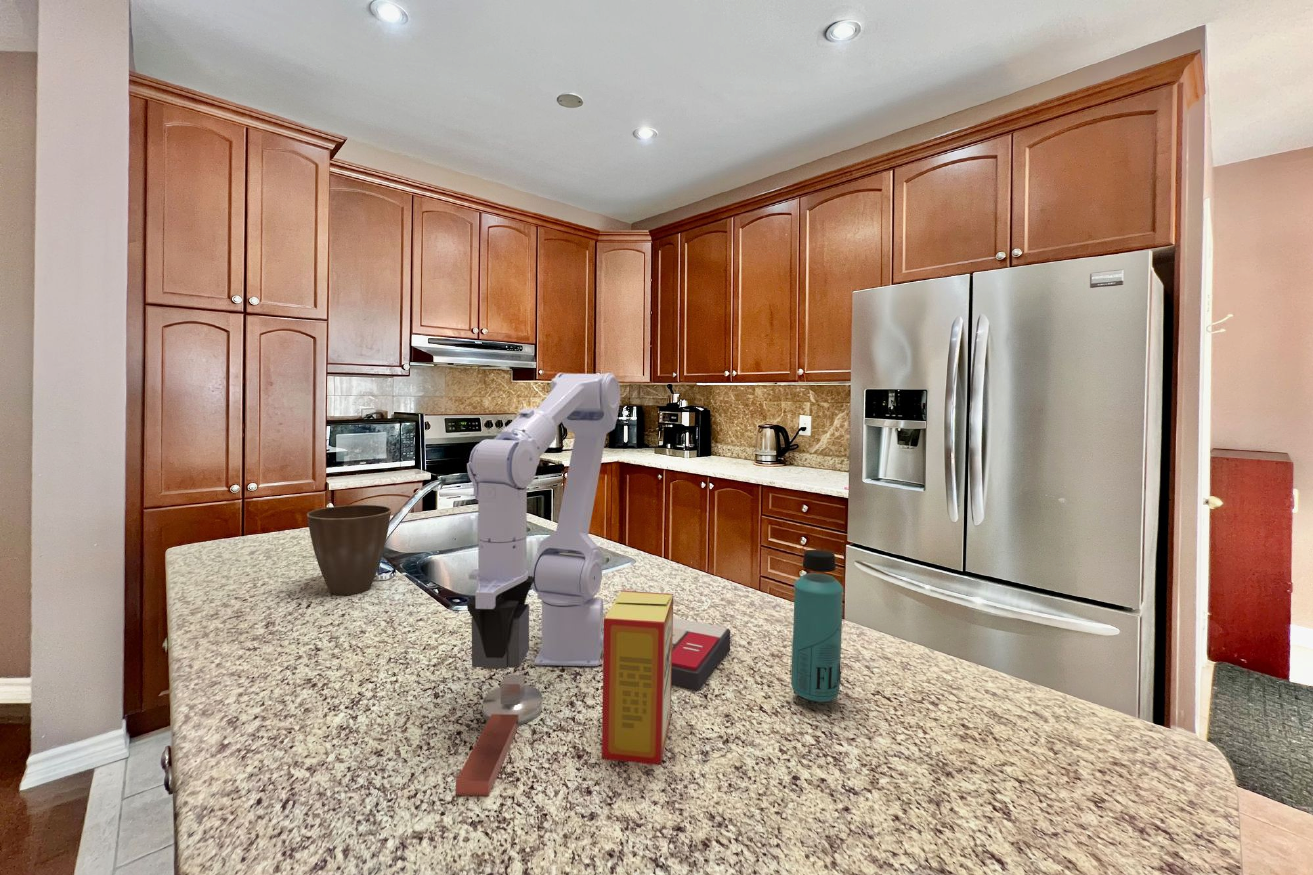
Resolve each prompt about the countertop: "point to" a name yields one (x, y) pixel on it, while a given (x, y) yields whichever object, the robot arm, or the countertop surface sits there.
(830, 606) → the beverage bottle
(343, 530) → the plant pot
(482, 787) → the ratchet
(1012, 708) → the countertop surface
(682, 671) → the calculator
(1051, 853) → the countertop surface
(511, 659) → the socket
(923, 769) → the countertop surface
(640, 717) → the baking soda box
